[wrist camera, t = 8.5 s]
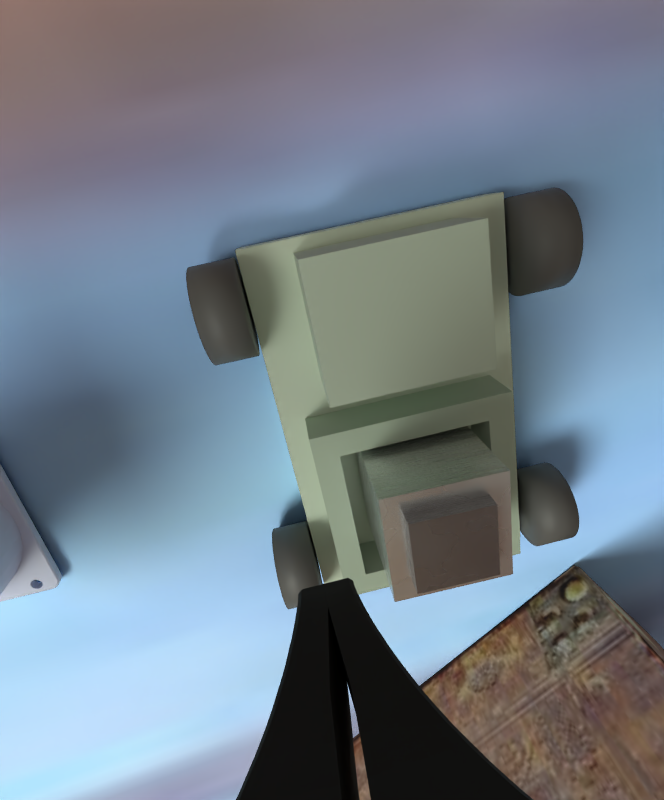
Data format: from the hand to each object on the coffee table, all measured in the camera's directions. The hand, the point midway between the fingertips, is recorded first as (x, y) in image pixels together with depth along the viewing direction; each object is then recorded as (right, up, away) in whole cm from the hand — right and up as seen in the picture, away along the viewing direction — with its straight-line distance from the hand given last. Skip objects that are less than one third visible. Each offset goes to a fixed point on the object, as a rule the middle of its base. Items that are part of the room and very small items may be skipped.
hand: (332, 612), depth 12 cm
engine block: (+3, +2, +9) cm, 10 cm away
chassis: (+3, +5, +9) cm, 11 cm away
